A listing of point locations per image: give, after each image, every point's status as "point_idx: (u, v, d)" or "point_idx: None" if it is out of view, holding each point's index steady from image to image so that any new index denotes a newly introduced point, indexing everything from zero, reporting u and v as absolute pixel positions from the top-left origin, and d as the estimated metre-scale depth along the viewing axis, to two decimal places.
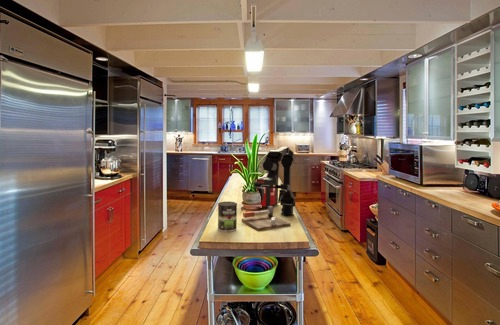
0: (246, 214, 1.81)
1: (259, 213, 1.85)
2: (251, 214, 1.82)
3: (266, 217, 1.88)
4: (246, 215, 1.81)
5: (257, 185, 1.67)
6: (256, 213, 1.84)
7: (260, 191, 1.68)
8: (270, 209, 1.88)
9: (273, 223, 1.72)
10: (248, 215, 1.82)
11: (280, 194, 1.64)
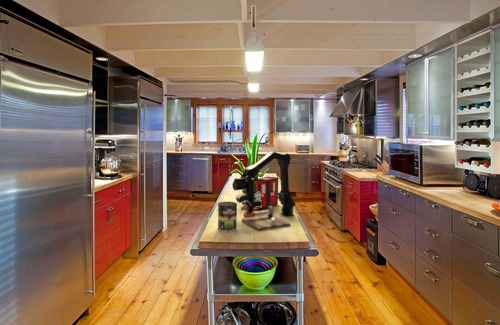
0: (247, 214, 1.80)
1: (259, 213, 1.85)
2: (252, 214, 1.82)
3: (266, 217, 1.88)
4: (247, 215, 1.80)
5: None
6: (257, 213, 1.84)
7: (246, 206, 1.85)
8: (270, 209, 1.88)
9: (273, 223, 1.72)
10: (249, 215, 1.81)
11: (248, 207, 1.83)
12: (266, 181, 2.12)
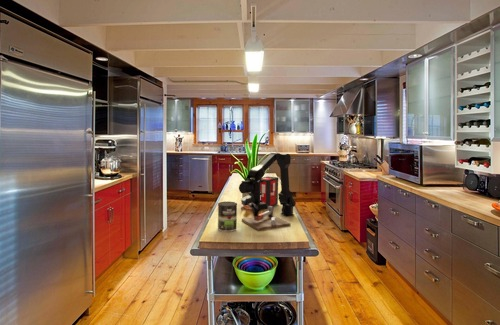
0: (259, 217, 1.75)
1: (265, 214, 1.82)
2: (261, 217, 1.77)
3: (266, 217, 1.88)
4: (259, 218, 1.75)
5: None
6: (264, 215, 1.81)
7: (251, 208, 1.79)
8: (271, 209, 1.88)
9: (273, 223, 1.72)
10: (260, 218, 1.76)
11: (253, 210, 1.78)
12: (266, 181, 2.12)
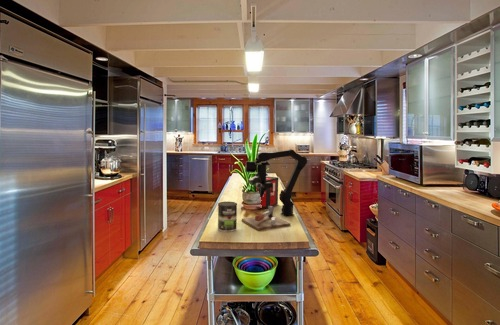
0: (260, 217, 1.74)
1: (266, 214, 1.82)
2: (262, 217, 1.77)
3: (266, 217, 1.88)
4: (260, 218, 1.74)
5: None
6: (264, 215, 1.80)
7: (258, 188, 1.96)
8: (271, 209, 1.88)
9: (273, 223, 1.72)
10: (261, 218, 1.75)
11: (260, 190, 1.94)
12: None
